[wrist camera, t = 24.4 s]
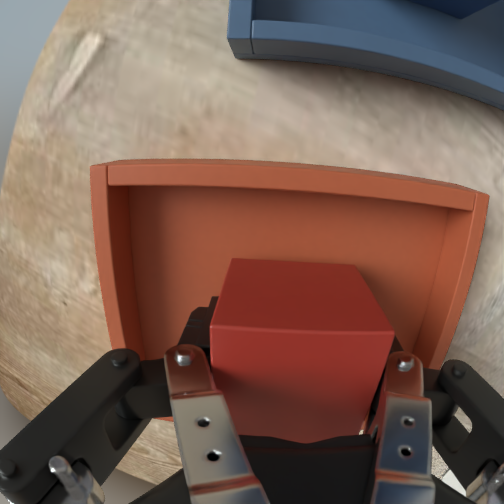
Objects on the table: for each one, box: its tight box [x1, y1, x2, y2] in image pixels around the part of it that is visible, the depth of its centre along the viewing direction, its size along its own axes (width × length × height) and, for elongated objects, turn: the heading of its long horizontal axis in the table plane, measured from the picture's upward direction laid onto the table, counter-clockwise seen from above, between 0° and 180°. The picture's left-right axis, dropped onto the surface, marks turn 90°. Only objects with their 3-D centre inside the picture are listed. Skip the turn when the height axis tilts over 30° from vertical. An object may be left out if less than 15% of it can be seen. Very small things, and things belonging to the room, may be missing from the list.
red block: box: [209, 258, 395, 443], centre depth 11 cm, size 5×5×5 cm
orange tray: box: [90, 159, 489, 430], centre depth 14 cm, size 16×13×3 cm
